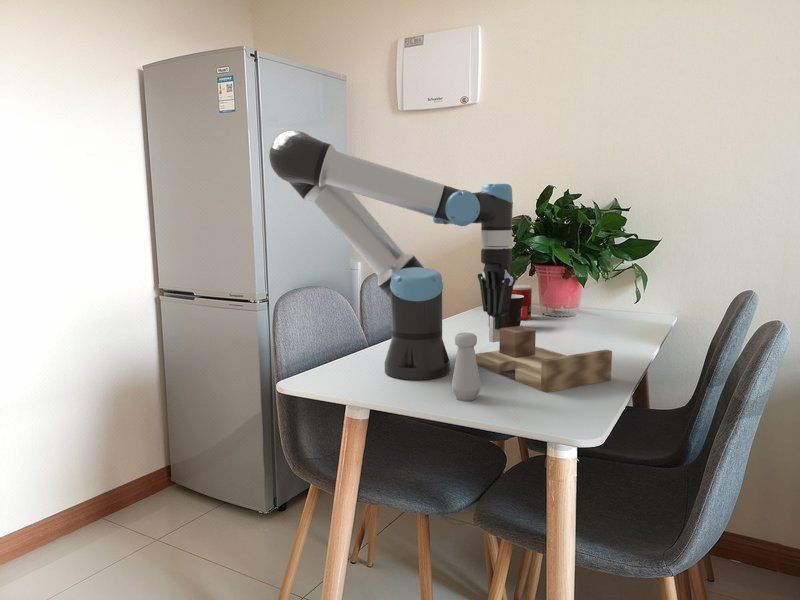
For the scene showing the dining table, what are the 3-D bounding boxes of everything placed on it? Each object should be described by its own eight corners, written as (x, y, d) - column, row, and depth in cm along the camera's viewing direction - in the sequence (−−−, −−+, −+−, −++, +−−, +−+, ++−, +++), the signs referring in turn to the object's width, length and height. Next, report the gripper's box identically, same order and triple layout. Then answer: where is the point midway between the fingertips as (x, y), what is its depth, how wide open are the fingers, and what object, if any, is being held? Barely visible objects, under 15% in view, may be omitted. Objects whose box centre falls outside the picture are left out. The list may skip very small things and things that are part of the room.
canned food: (533, 320, 202) (533, 287, 200) (509, 320, 201) (509, 287, 200) (528, 316, 209) (528, 284, 207) (505, 316, 209) (505, 285, 207)
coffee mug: (504, 324, 196) (504, 293, 194) (528, 327, 190) (529, 295, 189) (484, 330, 187) (485, 297, 185) (509, 333, 181) (510, 300, 180)
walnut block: (514, 358, 142) (515, 332, 141) (499, 352, 147) (499, 328, 146) (535, 354, 144) (535, 330, 143) (519, 349, 150) (519, 325, 149)
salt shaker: (469, 391, 125) (470, 329, 123) (486, 399, 120) (487, 334, 118) (445, 396, 122) (445, 332, 120) (461, 404, 117) (461, 337, 115)
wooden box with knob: (545, 392, 123) (546, 361, 122) (473, 364, 146) (474, 337, 145) (610, 380, 131) (612, 350, 130) (533, 355, 154) (533, 330, 153)
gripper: (525, 248, 146) (523, 344, 149) (493, 245, 157) (492, 335, 161) (499, 249, 142) (498, 348, 146) (468, 246, 154) (468, 338, 157)
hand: (495, 341), depth 153 cm, fingers closed
